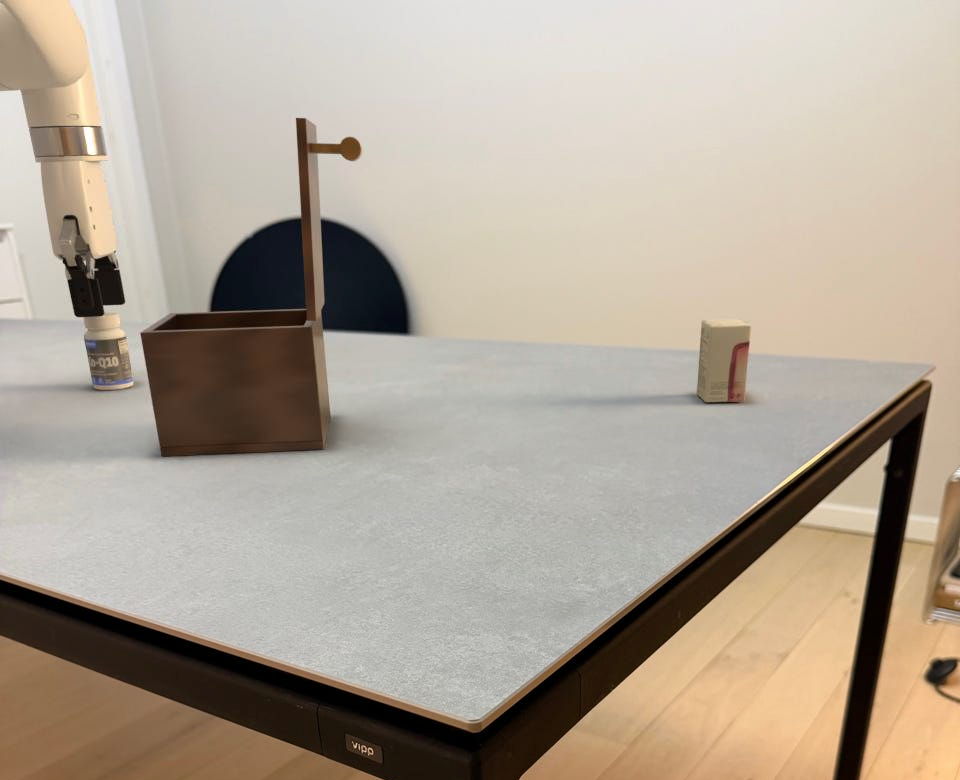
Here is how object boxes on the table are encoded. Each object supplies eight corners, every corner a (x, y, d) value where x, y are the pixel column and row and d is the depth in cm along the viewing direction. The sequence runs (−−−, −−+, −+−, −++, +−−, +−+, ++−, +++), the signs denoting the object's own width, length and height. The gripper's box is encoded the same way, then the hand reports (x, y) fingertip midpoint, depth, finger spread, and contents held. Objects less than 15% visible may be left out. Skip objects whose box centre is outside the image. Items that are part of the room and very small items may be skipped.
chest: (161, 456, 86) (139, 332, 81) (187, 423, 97) (169, 313, 92) (323, 449, 87) (312, 326, 82) (330, 418, 98) (320, 308, 93)
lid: (295, 117, 75) (359, 119, 76) (307, 125, 86) (362, 126, 87) (306, 321, 82) (365, 321, 82) (316, 303, 93) (367, 303, 94)
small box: (745, 402, 100) (753, 324, 97) (704, 403, 101) (710, 325, 97) (734, 393, 105) (741, 318, 101) (695, 393, 105) (701, 319, 102)
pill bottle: (87, 390, 114) (72, 317, 110) (102, 382, 118) (88, 311, 114) (126, 390, 113) (112, 316, 110) (140, 382, 118) (127, 311, 114)
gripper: (58, 149, 112) (89, 302, 120) (6, 147, 96) (45, 323, 104) (123, 147, 112) (149, 299, 120) (82, 145, 97) (115, 320, 105)
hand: (101, 310), depth 112 cm, fingers open, 9 cm apart
